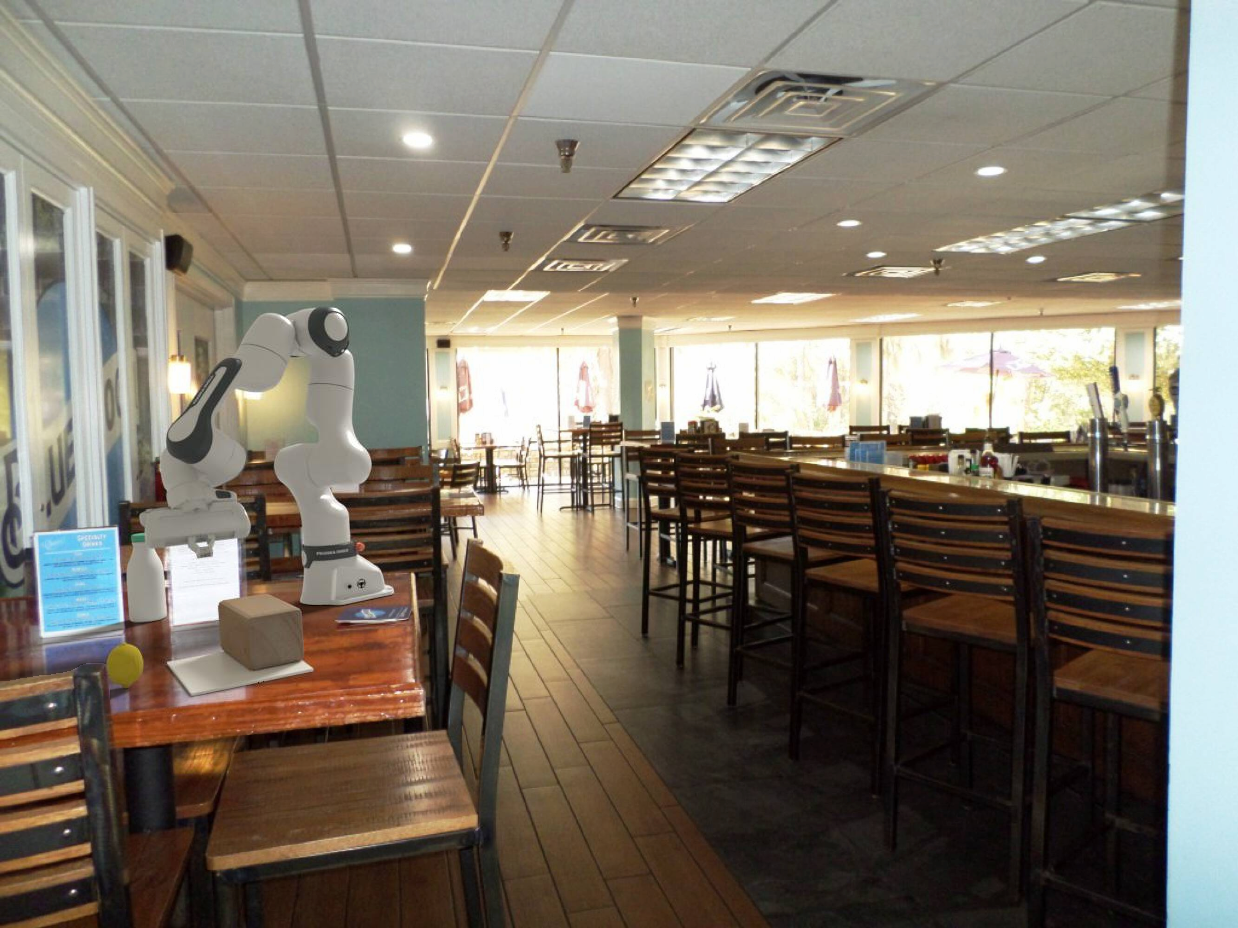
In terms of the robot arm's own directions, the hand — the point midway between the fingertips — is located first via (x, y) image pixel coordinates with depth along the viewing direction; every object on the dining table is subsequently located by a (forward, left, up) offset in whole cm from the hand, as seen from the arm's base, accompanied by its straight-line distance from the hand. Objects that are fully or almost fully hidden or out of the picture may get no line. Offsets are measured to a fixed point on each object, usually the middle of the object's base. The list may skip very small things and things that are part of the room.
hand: (205, 555), depth 181 cm
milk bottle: (+7, -31, -18) cm, 36 cm away
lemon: (+18, +25, -18) cm, 36 cm away
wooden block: (-4, +12, -12) cm, 18 cm away
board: (0, +26, -18) cm, 31 cm away
